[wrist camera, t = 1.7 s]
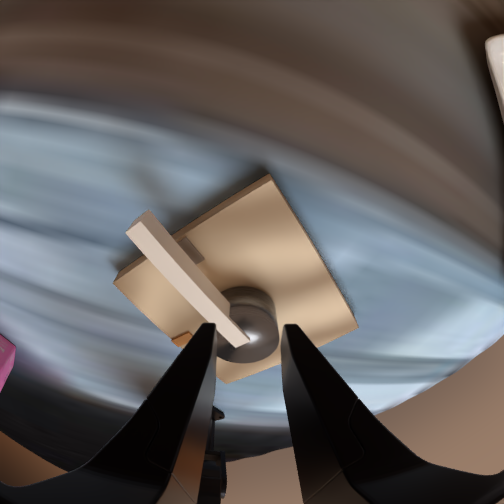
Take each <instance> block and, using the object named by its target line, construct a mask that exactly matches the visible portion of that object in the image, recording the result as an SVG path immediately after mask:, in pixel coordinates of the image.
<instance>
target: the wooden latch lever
mask: <svg viewBox="0 0 504 504" xmlns="http://www.w3.org/2000/svg"><path fill="white" fill-rule="evenodd" d="M125 233H126V234H127V235H128V236H129V238H130V239H131V240H132V241H133V242H134V243H135V245H136V246H137V247H138V248H139V249H140V250H141V251H142V252H143V254H144V255H145V256H146V257H147V258H148V259H149V260H150V261H151V262H152V264H153V265H154V266H155V267H156V268H157V269H158V270H159V271H160V272H161V273H162V274H163V276H164V277H165V278H166V279H167V280H168V281H169V282H170V283H171V284H172V285H173V286H174V287H175V288H176V289H177V290H178V291H179V292H180V294H181V295H182V296H183V297H184V298H185V299H186V300H187V301H188V302H189V303H190V304H191V305H192V306H193V307H194V308H195V309H196V310H197V311H198V312H199V313H200V314H201V315H202V316H203V317H204V318H205V319H206V320H207V321H208V323H215V324H216V329H217V357H219V358H221V359H223V360H225V361H228V362H233V363H253V362H257V361H260V360H263V359H265V358H267V357H268V356H270V355H271V354H272V353H273V352H274V351H275V350H276V349H277V347H278V345H279V340H280V339H279V330H278V322H277V315H276V307H275V304H274V302H273V300H272V299H271V297H270V296H269V295H268V294H266V293H265V292H263V291H262V290H259V289H257V288H254V287H248V286H237V287H232V288H228V289H226V290H224V291H222V292H219V291H218V289H217V288H216V287H215V286H214V285H213V284H212V283H211V282H210V280H209V279H208V278H207V277H206V276H205V275H204V274H203V273H202V271H201V270H200V269H199V268H198V267H197V266H196V265H195V263H194V262H193V261H192V260H191V259H190V258H189V256H188V255H187V254H186V253H185V252H184V251H183V249H182V248H181V247H180V246H179V245H178V244H177V242H176V241H175V240H174V239H173V238H172V236H171V235H170V234H169V233H168V232H167V230H166V229H165V228H164V227H163V226H162V224H161V223H160V222H159V221H158V220H157V218H156V217H155V216H154V215H153V214H152V212H151V211H150V210H149V209H148V210H147V211H146V212H144V213H143V214H142V215H141V216H139V217H138V218H137V219H135V220H134V222H133V223H132V224H131V226H130V227H129V228H128V230H127V231H126V232H125Z"/></svg>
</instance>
